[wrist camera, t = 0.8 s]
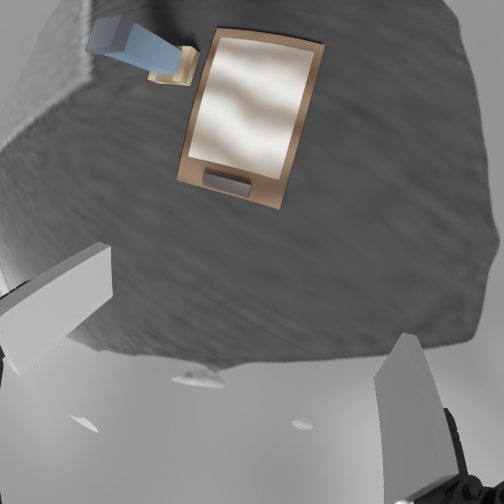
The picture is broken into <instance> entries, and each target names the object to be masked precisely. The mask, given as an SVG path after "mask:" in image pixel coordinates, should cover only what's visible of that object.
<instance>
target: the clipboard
mask: <svg viewBox="0 0 504 504" xmlns="http://www.w3.org/2000/svg"><path fill="white" fill-rule="evenodd" d="M324 48H325V45H322V44H318V43H314V42H310V41H305V40H301V39H296V38H291V37H286V36H281V35H275V34H269V33H262V32H254V31H246V30H235V29H222V28H217V30H216V33H215V36H214V39H213V42H212V45H211V48H210V51H209V54H208V57H207V60H206V63H205V67H204V70H203V73H202V77H201V80H200V83H199V87H198V91H197V94H196V98H195V102H194V105H193V109H192V113H191V117H190V121H189V125H188V129H187V134H186V138H185V142H184V147H183V151H182V156H181V161H180V166H179V171H178V176H177V181H181V182H185V183H188V184H192V185H196V186H200V187H203V188H207V189H211V190H214V191H218V192H222V193H225V194H229V195H232V196H236V197H239V198H243V199H246V200H250V201H253V202H256V203H260V204H263V205H266V206H269V207H273V208H276V209H280V206H281V202H282V199H283V195H284V192H285V188H286V185H287V181H288V178H289V175H290V171H291V168H292V164H293V161H294V157H295V154H296V150H297V147H298V143H299V139H300V136H301V132H302V129H303V125H304V122H305V118H306V114H307V111H308V107H309V103H310V100H311V96H312V93H313V89H314V85H315V82H316V78H317V74H318V70H319V67H320V63H321V59H322V55H323V52H324Z"/></svg>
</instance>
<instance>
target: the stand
mask: <svg viewBox="0 0 504 504" xmlns="http://www.w3.org/2000/svg"><path fill="white" fill-rule="evenodd" d="M174 47H176V48H177V49H179V50H180V51H182V52H183V53H182V56H181V60H180V63H179V66H178V69H177V73H176V74H161V73H153V72H151V71H150V74H149V77H148V80H151V81H154V82H157V83H160V84H175V85H186V86H191V82H192V79H193V75H194V72H195V68H196V65H197V62H198V59H199V56H200V53H199V52H198V51H197V50H195V49H194V48H193V47H191V46H174Z"/></svg>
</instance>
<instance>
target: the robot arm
mask: <svg viewBox="0 0 504 504" xmlns="http://www.w3.org/2000/svg"><path fill="white" fill-rule="evenodd" d="M112 296H113V293H112V277H111V246H109V245H106V244H103V243H101V242H98V243H96V244H94V245H92V246H90V247H88V248H86V249H84V250H83V251H81V252H79V253H77V254H75V255H73V256H72V257H70V258H68V259H66V260H65V261H63V262H61V263H59V264H58V265H56V266H54V267H52V268H51V269H49V270H47V271H46V272H44V273H42V274H41V275H39V276H37V277H36V278H34V279H32V280H29V281H26V282H24V283H22V284H21V285H19V286H17V287H16V289H13V290H11V291H10V292H9V293H6V294H5V295H3V296H2V297H0V386H1V379H2V373H3V361H2V359H3V358H4V357H6V359H7V361H8V363H9V365H10V367H11V368H12V369H13V370H14V371H15V372H16V373H17V374H18V375H19V376H20V377H21V376H23V375H24V374H25V373H26V372H27V371H28V370H29V369H30V368H31V367H32V366H33V365H34V364H36V363H37V362H38V361H39V360H40V359H41V358H42V357H43V356H44V355H45V354H46V353H47V352H49V351H50V350H51V349H52V348H53V347H54V346H55V345H56V344H57V343H59V342H60V341H61V340H62V339H63V338H64V337H65V336H66V335H68V334H69V333H70V332H71V331H72V330H73V329H74V328H76V327H77V326H78V325H79V324H80V323H81V322H83V321H84V320H85V319H86V318H87V317H88V316H90V315H91V314H92V313H93V312H94V311H96V310H97V309H98V308H99V307H100V306H102V305H103V304H104V303H105V302H106V301H108V300H109V299H110V298H111V297H112ZM374 381H375V389H376V396H377V404H378V412H379V420H380V430H381V440H382V441H381V442H382V455H383V473H384V504H409V503H411V502H413V501H414V504H504V481H503V482H501V483H500V484H498V485H497V486H495V487H494V488H491V487H484V486H482V484H481V481H480V480H479V479H478V478H477V477H476V476H473V475H468V472H467V467H466V462H465V458H464V454H463V449H462V445H461V442H460V441H459V439H460V438H459V434H458V432H457V427H456V423H455V420H454V418H453V416H452V415H451V413H450V412H449V410H448V409H447V408H443V407H442V403H441V400H440V397H439V394H438V391H437V388H436V385H435V382H434V379H433V376H432V374H431V371H430V368H429V366H428V363H427V360H426V358H425V355H424V352H423V350H422V347H421V345H420V343H419V340H418V338H417V336H415V335H411V334H406V333H402V334H401V336H400V338H399V340H398V341H397V343H396V345H395V346H394V348H393V349H392V351H391V353H390V354H389V356H388V357H387V359H386V361H385V362H384V363H383V365H382V366H381V368H380V369H379V371H378V372H377V374H376V375H375V377H374ZM0 504H2V501H1V495H0Z"/></svg>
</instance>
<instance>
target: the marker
mask: <svg viewBox="0 0 504 504" xmlns="http://www.w3.org/2000/svg"><path fill="white" fill-rule="evenodd" d="M134 22H135V20H133V19H131V18H129V17H128V16H126V15H124V14H120V15H115V16H110V17H105V18H101V19H97V20H96V22H95V24H94V27H93V29H92V32H91V34H90V37H89V40H88V43H87V46H86V49H85V51H87V52H90V53H94V54H97V55H101V54H103V55H106V56H109V57H112V58H115V59H118V60H121V61H124V62H127V63H130V64H132V65H135V66H138V67H140V68H143V69H146V70H148V71H151V72H153V73H161V74H176V73H177V69H178V66H179V63H180V60H181V56H182V53H183V52H182V51H180V50H179V49H177V48H176V47H174V46H173V45H171V44H170V43H168V42H166V41H165V40H163V39H162V38H160V37H158V36H157V35H155V34H153V33H152V32H150V31H148V30H147V29H145V28H143V27H141V26H140V25H138V24H136V23H134Z"/></svg>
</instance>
